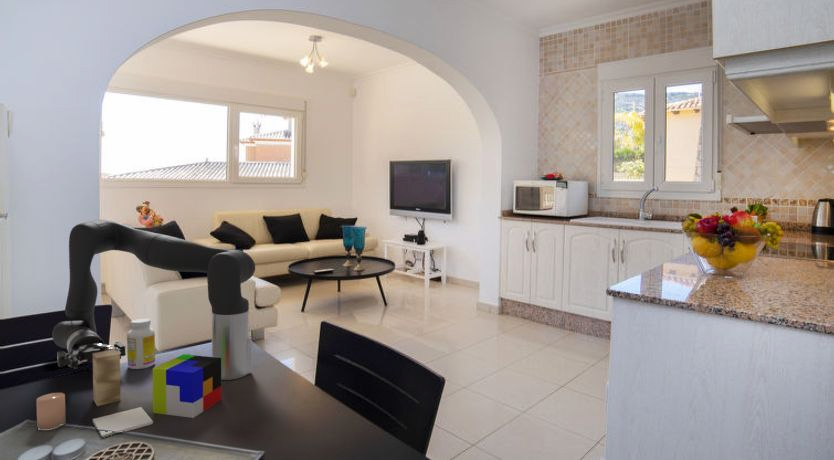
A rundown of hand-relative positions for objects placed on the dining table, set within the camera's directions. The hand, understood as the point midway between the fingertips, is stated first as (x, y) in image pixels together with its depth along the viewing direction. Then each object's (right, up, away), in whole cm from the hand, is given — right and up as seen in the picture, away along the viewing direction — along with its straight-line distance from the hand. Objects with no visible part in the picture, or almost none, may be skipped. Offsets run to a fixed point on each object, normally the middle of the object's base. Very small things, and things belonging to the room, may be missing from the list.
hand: (97, 361), depth 117 cm
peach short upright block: (+4, -8, -20) cm, 22 cm away
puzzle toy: (+27, -8, -9) cm, 29 cm away
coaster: (+17, -8, -18) cm, 26 cm away
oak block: (+7, -7, -7) cm, 12 cm away
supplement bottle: (+2, -6, +16) cm, 17 cm away
